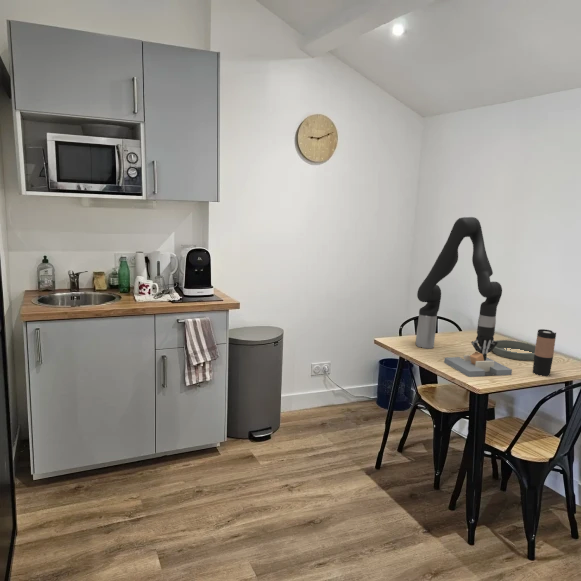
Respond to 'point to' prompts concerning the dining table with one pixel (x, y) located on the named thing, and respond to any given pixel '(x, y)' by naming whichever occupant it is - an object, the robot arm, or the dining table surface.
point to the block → (476, 357)
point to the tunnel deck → (477, 367)
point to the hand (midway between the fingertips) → (482, 361)
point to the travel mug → (544, 352)
